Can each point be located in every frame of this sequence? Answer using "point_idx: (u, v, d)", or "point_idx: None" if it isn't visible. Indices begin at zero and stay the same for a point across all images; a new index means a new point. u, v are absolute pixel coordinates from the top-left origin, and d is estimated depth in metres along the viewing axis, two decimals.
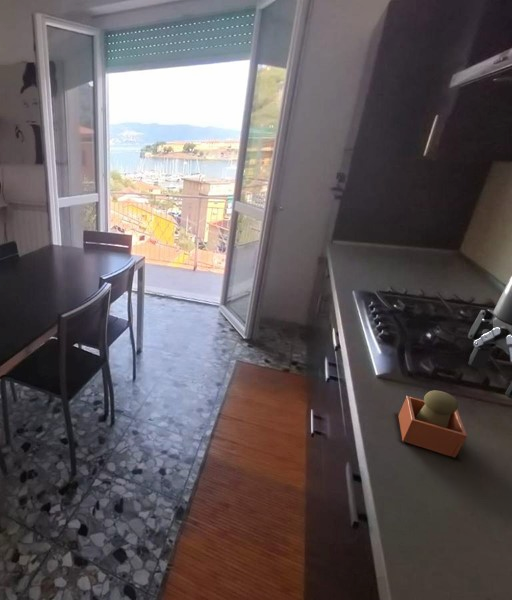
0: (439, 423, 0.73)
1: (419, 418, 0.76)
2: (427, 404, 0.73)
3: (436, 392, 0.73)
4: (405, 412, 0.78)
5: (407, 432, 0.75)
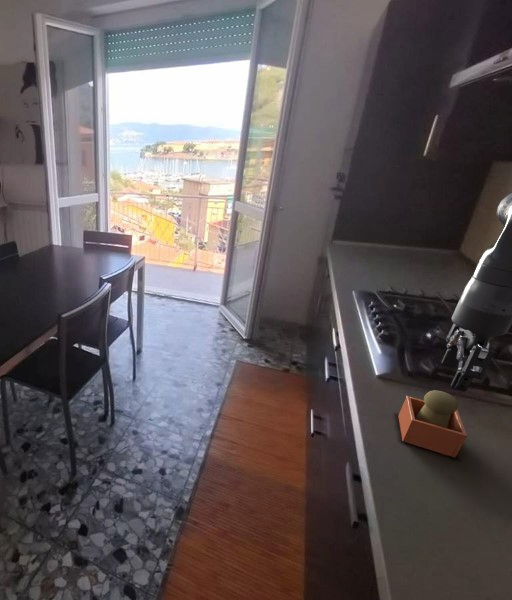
0: (439, 423, 0.73)
1: (419, 418, 0.76)
2: (427, 404, 0.73)
3: (436, 392, 0.73)
4: (405, 412, 0.78)
5: (407, 432, 0.75)
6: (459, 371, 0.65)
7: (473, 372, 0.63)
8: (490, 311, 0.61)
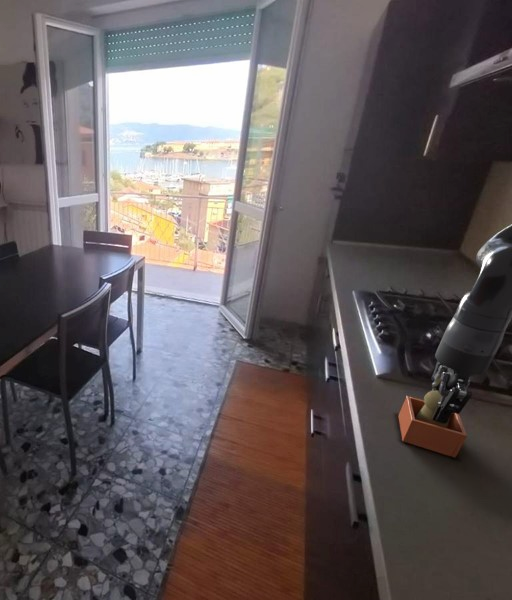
0: (439, 423, 0.73)
1: (419, 418, 0.76)
2: (427, 404, 0.73)
3: (436, 392, 0.73)
4: (405, 412, 0.78)
5: (407, 432, 0.75)
6: (439, 405, 0.70)
7: (451, 407, 0.68)
8: (469, 352, 0.64)
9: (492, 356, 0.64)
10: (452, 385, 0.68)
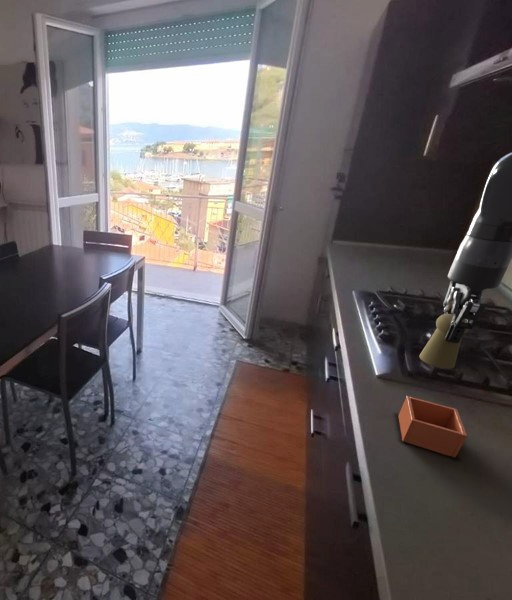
0: (451, 344, 0.74)
1: (431, 342, 0.77)
2: (439, 326, 0.75)
3: (448, 315, 0.75)
4: (405, 412, 0.78)
5: (407, 432, 0.75)
6: (452, 324, 0.72)
7: (464, 323, 0.69)
8: (483, 265, 0.66)
9: (505, 268, 0.66)
10: (465, 301, 0.69)
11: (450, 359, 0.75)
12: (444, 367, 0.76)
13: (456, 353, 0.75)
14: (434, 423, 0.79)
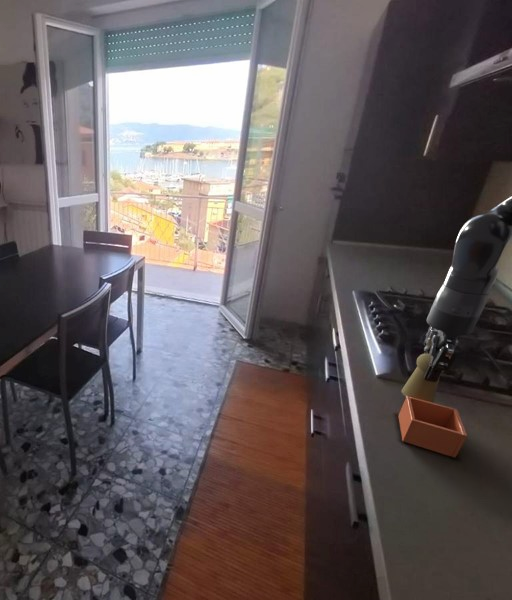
0: (430, 382, 0.80)
1: (412, 379, 0.83)
2: (419, 365, 0.81)
3: (427, 355, 0.81)
4: (405, 412, 0.78)
5: (407, 432, 0.75)
6: (430, 365, 0.78)
7: (441, 365, 0.75)
8: (457, 314, 0.72)
9: (477, 317, 0.71)
10: (441, 345, 0.75)
11: (429, 395, 0.81)
12: None
13: (435, 390, 0.81)
14: (434, 423, 0.79)
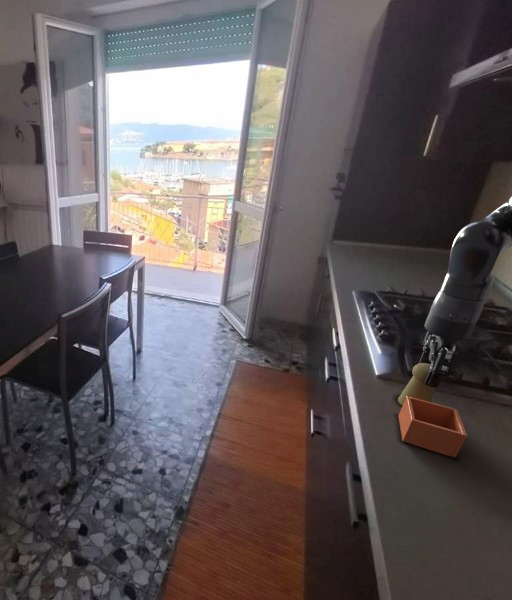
0: (426, 392, 0.81)
1: (408, 388, 0.84)
2: (415, 375, 0.82)
3: (423, 364, 0.82)
4: (405, 412, 0.78)
5: (407, 432, 0.75)
6: (430, 370, 0.77)
7: (441, 371, 0.74)
8: (454, 319, 0.73)
9: (474, 323, 0.72)
10: (439, 351, 0.76)
11: None
12: None
13: (430, 399, 0.82)
14: (434, 423, 0.79)
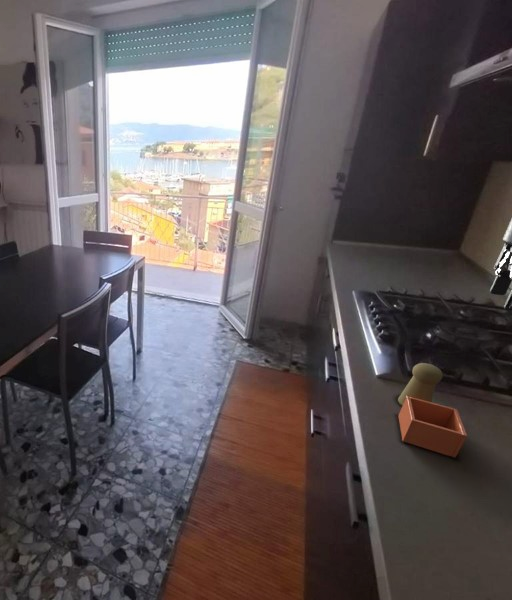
0: (426, 392, 0.81)
1: (408, 388, 0.84)
2: (415, 375, 0.82)
3: (423, 364, 0.82)
4: (405, 412, 0.78)
5: (407, 432, 0.75)
6: None
7: None
8: None
9: None
10: None
11: None
12: None
13: (430, 399, 0.82)
14: (434, 423, 0.79)
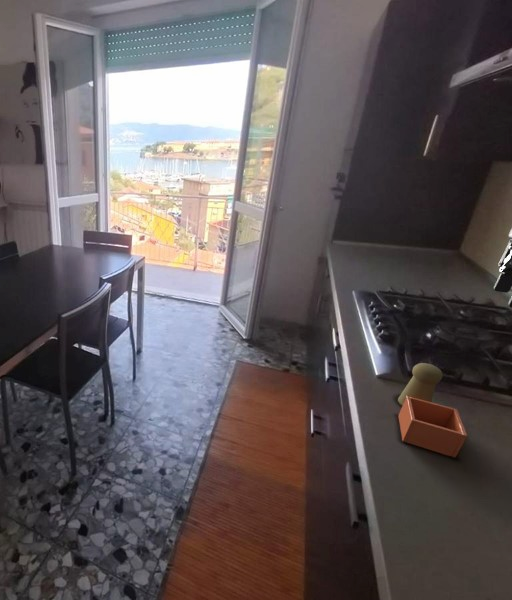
0: (426, 392, 0.81)
1: (408, 388, 0.84)
2: (415, 375, 0.82)
3: (423, 364, 0.82)
4: (405, 412, 0.78)
5: (407, 432, 0.75)
6: None
7: None
8: None
9: None
10: None
11: None
12: None
13: (430, 399, 0.82)
14: (434, 423, 0.79)
